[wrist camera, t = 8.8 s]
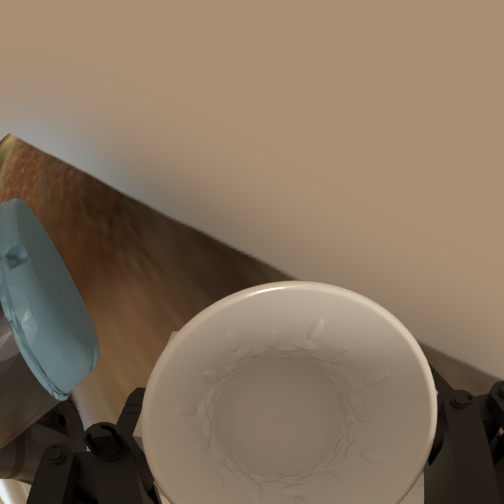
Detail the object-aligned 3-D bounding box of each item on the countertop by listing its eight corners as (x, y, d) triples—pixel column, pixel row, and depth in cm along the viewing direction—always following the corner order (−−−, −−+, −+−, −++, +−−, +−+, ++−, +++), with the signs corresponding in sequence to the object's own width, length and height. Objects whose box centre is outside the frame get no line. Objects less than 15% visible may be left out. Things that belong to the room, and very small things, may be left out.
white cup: (217, 346, 17) (167, 269, 8) (345, 353, 16) (428, 284, 7) (202, 468, 13) (131, 527, 4) (338, 475, 12) (421, 531, 3)
